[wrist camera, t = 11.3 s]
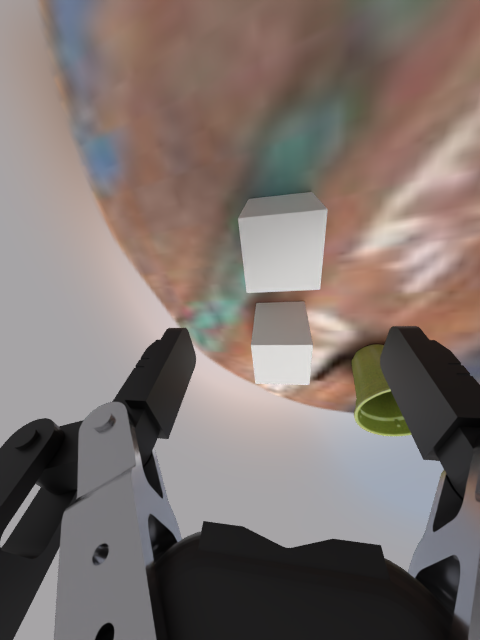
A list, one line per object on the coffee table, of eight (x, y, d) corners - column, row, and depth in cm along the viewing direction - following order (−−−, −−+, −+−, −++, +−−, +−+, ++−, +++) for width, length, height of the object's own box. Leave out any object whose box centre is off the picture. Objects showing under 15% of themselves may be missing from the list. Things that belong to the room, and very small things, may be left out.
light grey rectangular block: (256, 302, 30) (251, 345, 23) (304, 301, 28) (312, 344, 22) (259, 338, 33) (255, 383, 27) (302, 338, 32) (309, 385, 26)
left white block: (248, 198, 22) (238, 218, 16) (312, 191, 21) (327, 209, 15) (253, 257, 26) (246, 292, 20) (308, 253, 25) (319, 289, 19)
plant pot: (326, 352, 33) (340, 406, 26) (396, 321, 29) (434, 376, 22) (356, 387, 37) (374, 442, 30) (421, 365, 32) (461, 424, 25)
